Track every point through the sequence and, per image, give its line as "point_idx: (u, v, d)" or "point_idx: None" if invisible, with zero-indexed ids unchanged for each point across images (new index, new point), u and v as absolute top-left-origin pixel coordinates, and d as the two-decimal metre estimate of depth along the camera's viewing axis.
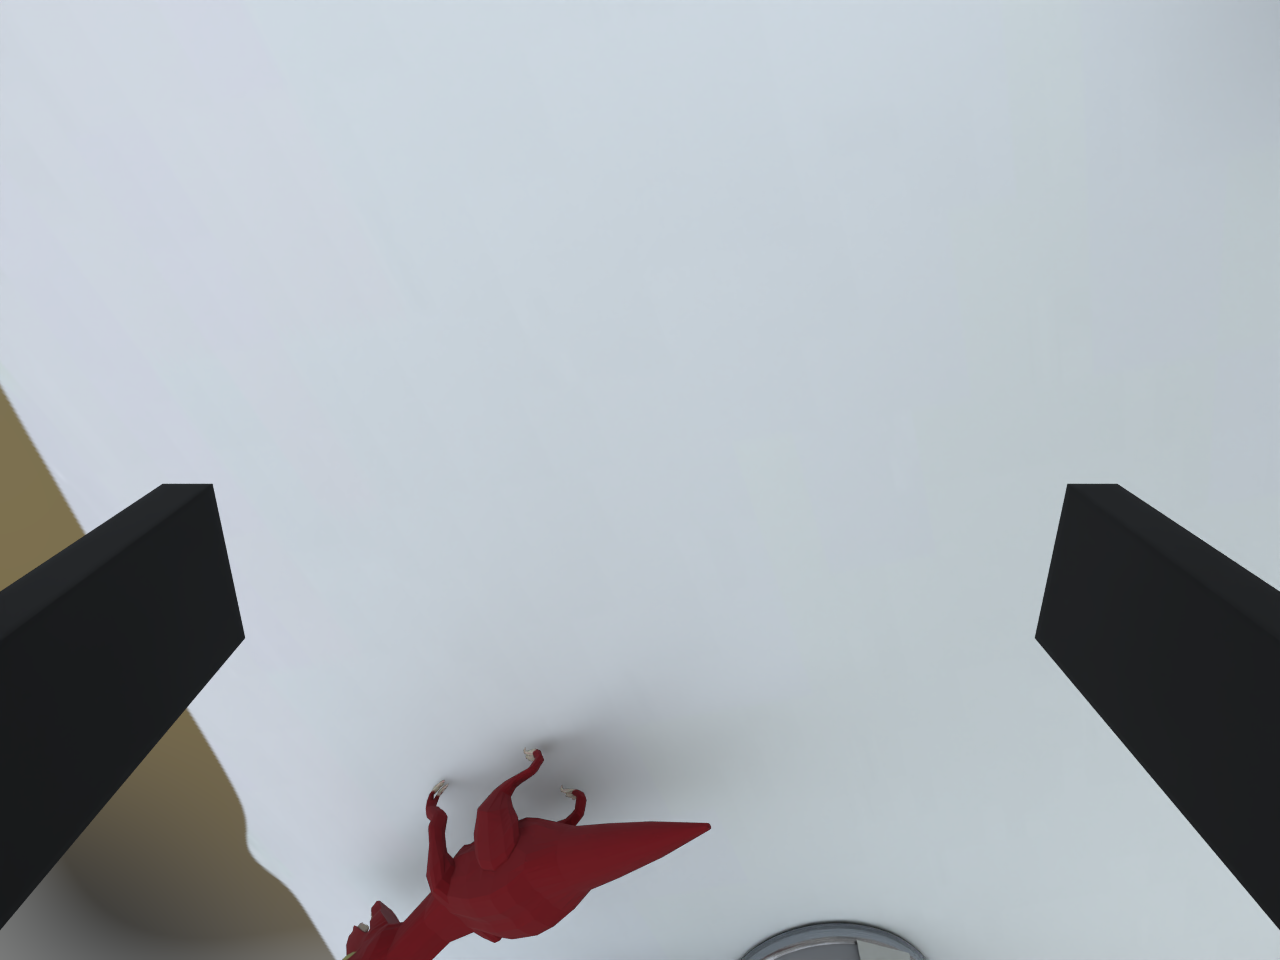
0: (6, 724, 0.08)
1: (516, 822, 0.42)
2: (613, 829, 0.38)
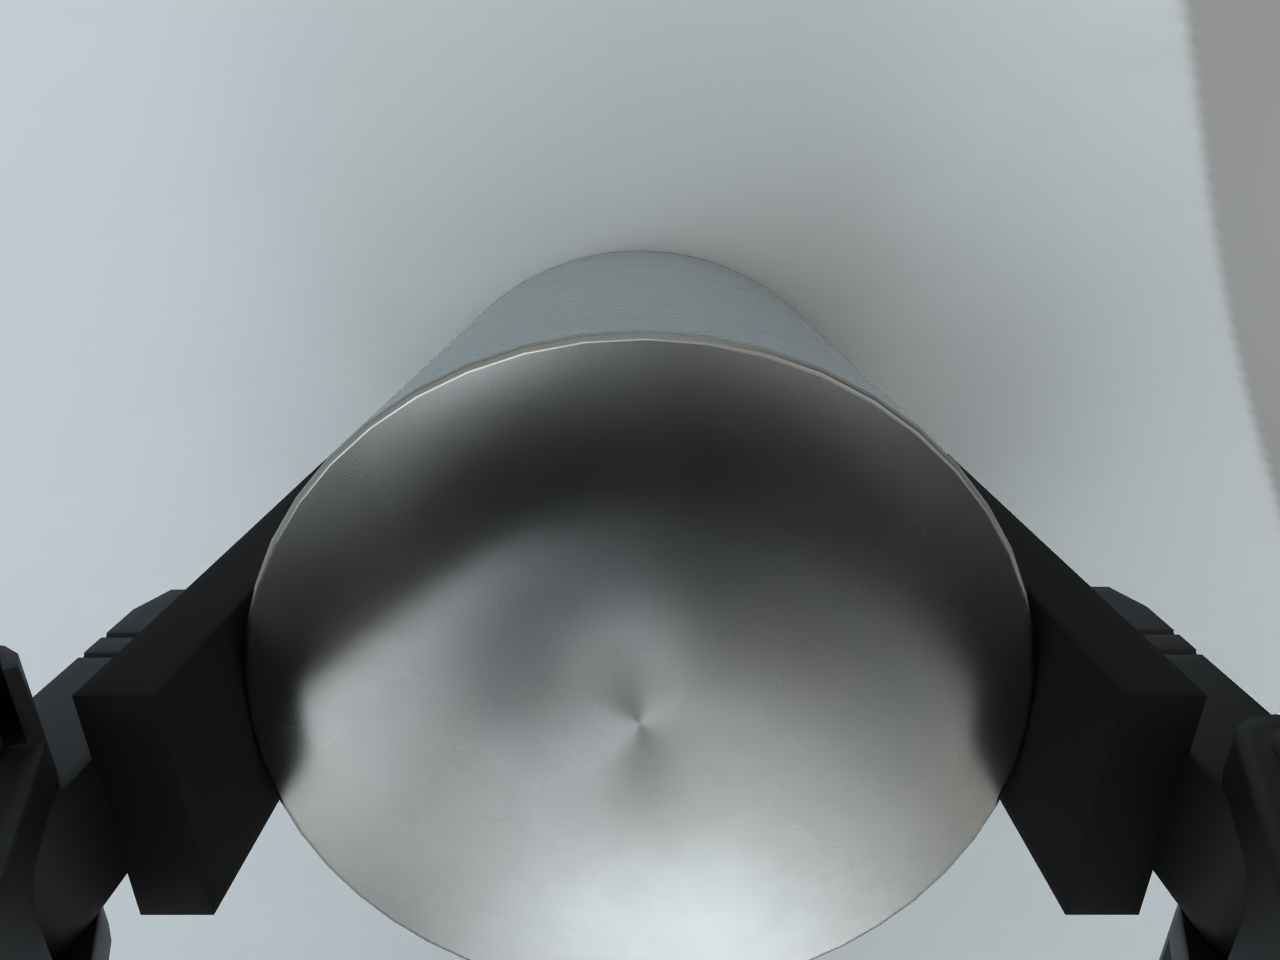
0: None
1: None
2: None
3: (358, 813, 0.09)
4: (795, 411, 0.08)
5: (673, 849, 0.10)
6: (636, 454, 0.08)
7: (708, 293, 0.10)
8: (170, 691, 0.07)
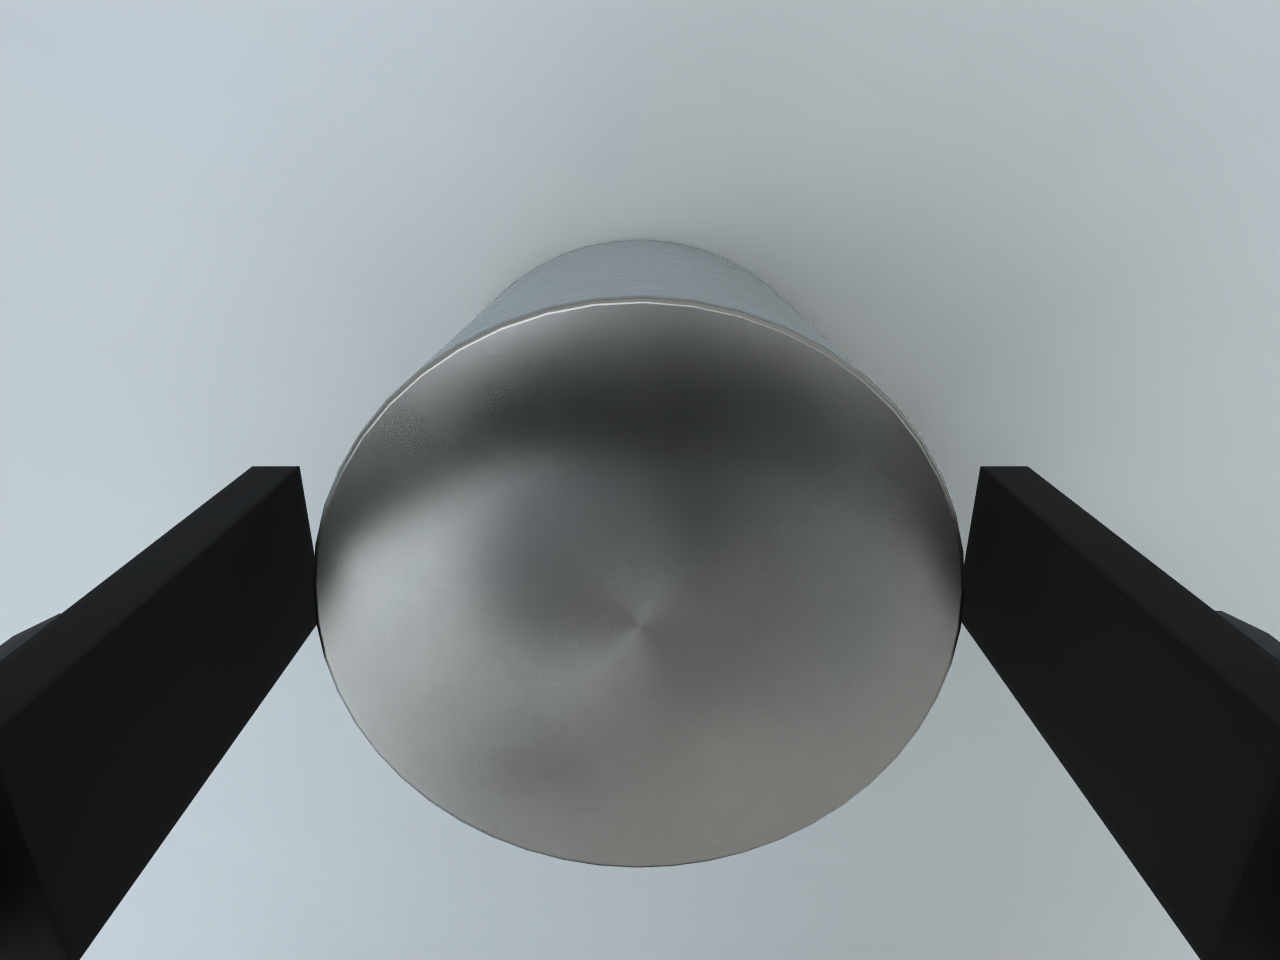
0: (148, 680, 0.09)
1: None
2: None
3: (403, 705, 0.11)
4: (763, 361, 0.09)
5: (666, 737, 0.11)
6: (636, 395, 0.10)
7: (697, 272, 0.12)
8: (10, 733, 0.07)
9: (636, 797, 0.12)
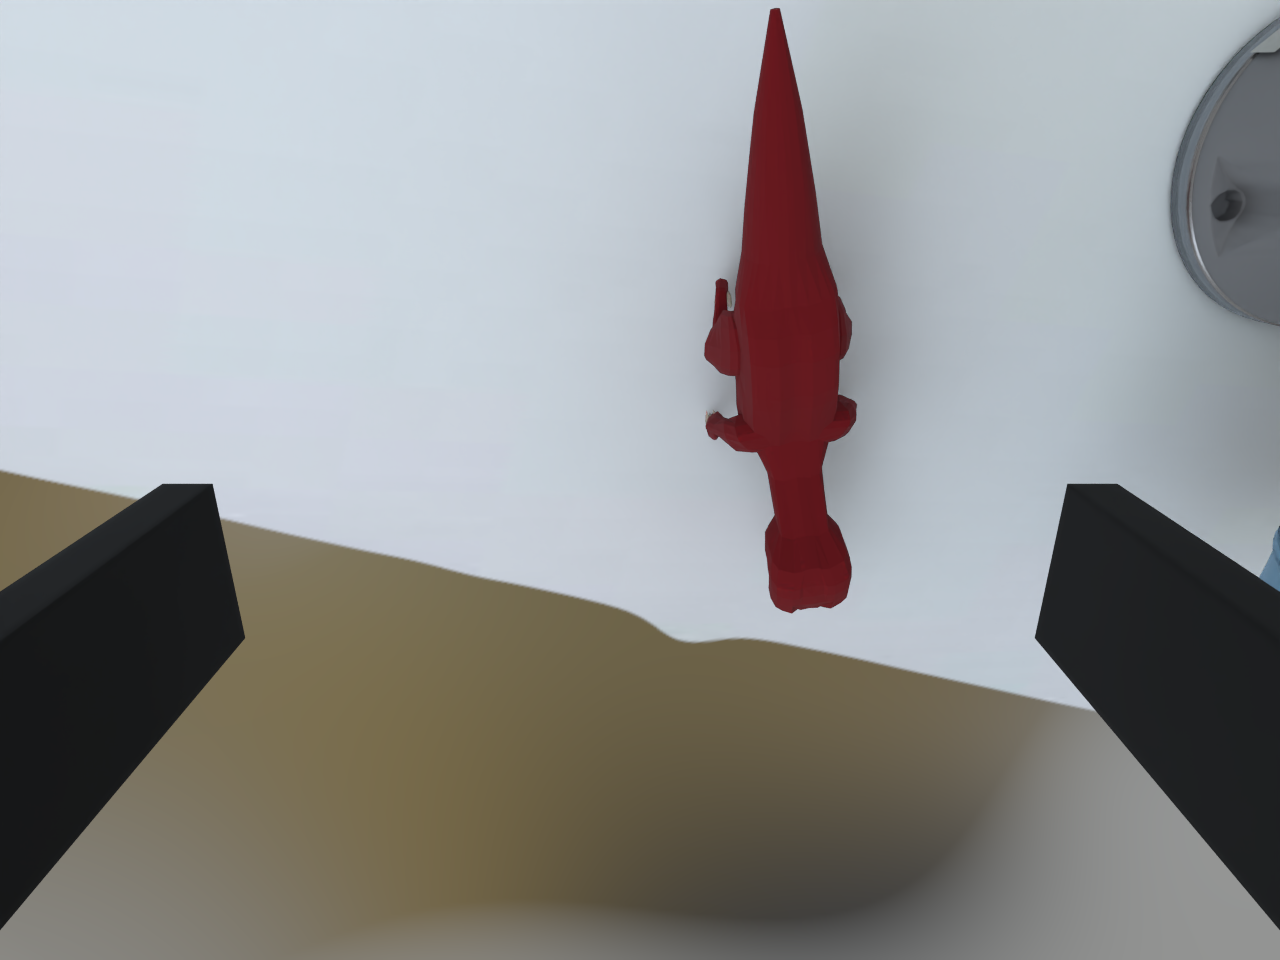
0: (5, 724, 0.08)
1: (723, 311, 0.34)
2: (749, 167, 0.29)
3: None
4: None
5: None
6: None
7: None
8: None
9: None
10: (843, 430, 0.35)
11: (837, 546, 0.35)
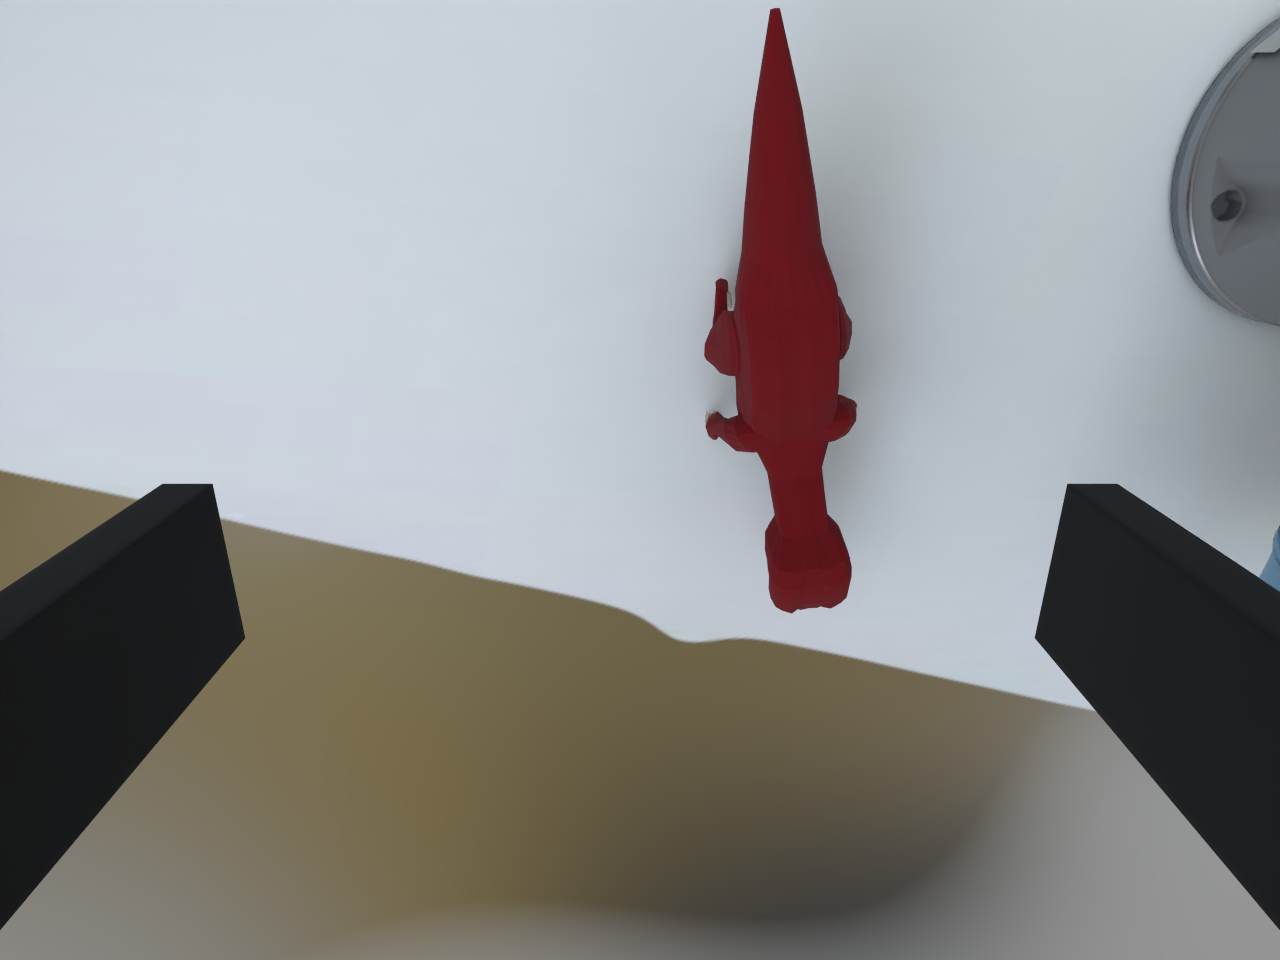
0: (5, 724, 0.08)
1: (723, 311, 0.34)
2: (749, 167, 0.29)
3: None
4: None
5: None
6: None
7: None
8: None
9: None
10: (843, 430, 0.35)
11: (837, 546, 0.35)
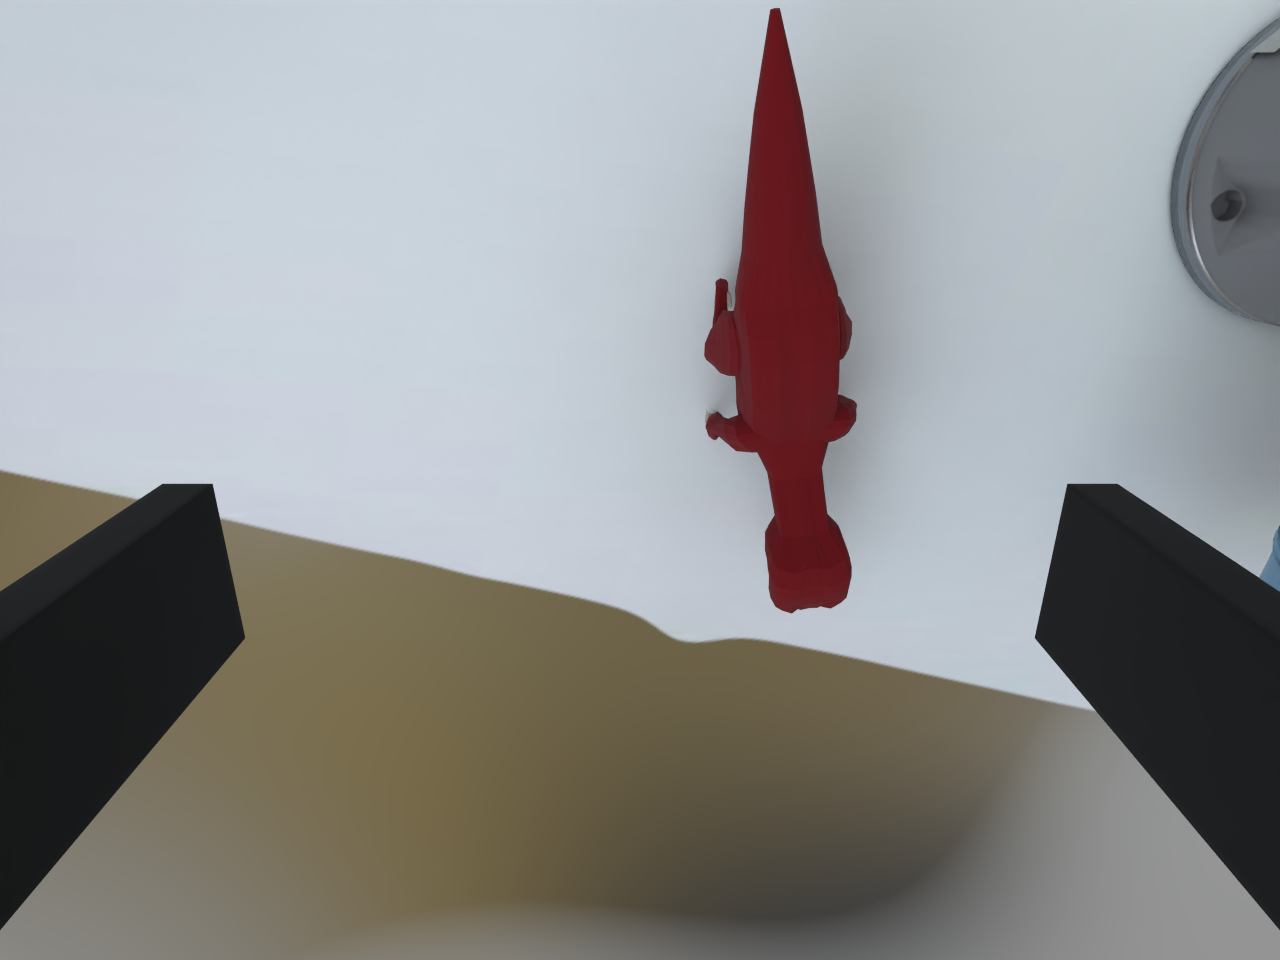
0: (5, 724, 0.08)
1: (723, 311, 0.34)
2: (749, 167, 0.29)
3: None
4: None
5: None
6: None
7: None
8: None
9: None
10: (843, 430, 0.35)
11: (837, 546, 0.35)
